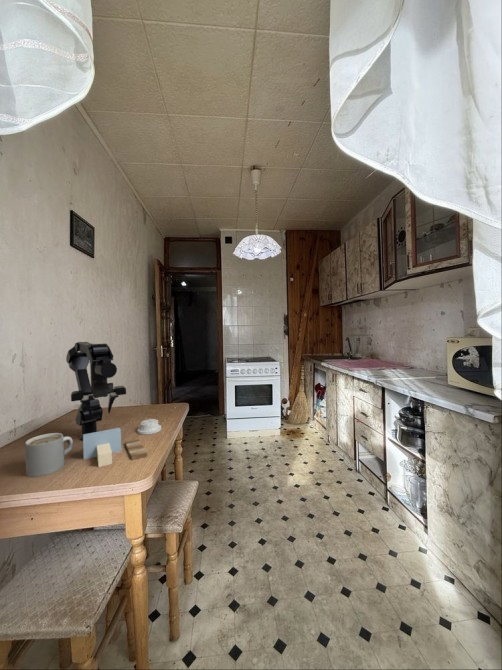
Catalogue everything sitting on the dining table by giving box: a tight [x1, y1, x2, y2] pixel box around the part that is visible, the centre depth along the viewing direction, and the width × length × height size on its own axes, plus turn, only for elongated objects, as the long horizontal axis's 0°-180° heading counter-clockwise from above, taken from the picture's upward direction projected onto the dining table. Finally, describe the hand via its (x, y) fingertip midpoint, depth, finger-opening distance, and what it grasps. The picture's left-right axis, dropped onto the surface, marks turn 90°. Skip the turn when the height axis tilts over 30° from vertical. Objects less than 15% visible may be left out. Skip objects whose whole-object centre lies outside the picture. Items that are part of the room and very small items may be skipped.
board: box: [124, 438, 148, 461], centre depth 101 cm, size 16×5×1 cm, turn 33°
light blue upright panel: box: [82, 427, 122, 468], centre depth 95 cm, size 12×12×8 cm
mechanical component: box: [137, 418, 162, 436], centre depth 121 cm, size 10×4×10 cm
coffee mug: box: [24, 432, 74, 478], centre depth 90 cm, size 13×10×10 cm
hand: (100, 414), depth 107 cm, fingers open, 6 cm apart
